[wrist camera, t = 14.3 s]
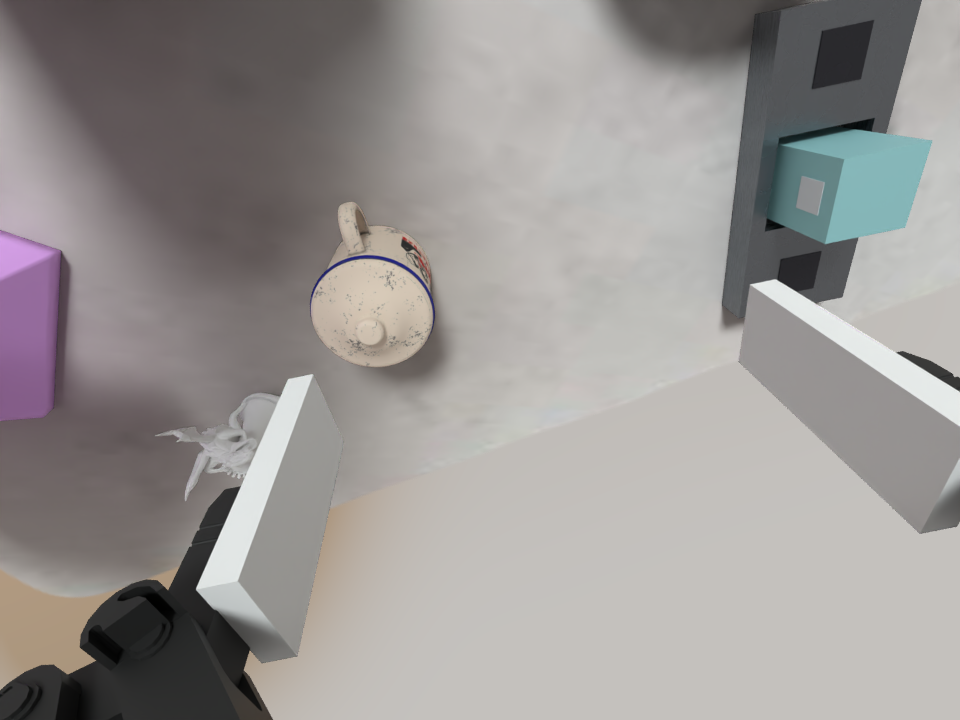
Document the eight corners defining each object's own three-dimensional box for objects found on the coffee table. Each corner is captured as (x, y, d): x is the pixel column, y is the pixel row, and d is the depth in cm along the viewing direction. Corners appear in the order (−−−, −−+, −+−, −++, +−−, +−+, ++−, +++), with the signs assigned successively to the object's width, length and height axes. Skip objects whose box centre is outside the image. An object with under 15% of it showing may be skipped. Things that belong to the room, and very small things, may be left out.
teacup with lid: (443, 306, 44) (448, 374, 35) (350, 326, 45) (329, 400, 35) (409, 175, 38) (403, 213, 28) (300, 200, 38) (257, 246, 28)
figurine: (313, 421, 50) (285, 510, 40) (253, 447, 52) (211, 541, 41) (246, 344, 45) (194, 425, 35) (181, 375, 46) (111, 463, 36)
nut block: (763, 141, 39) (843, 159, 32) (835, 126, 39) (933, 140, 32) (753, 212, 43) (824, 244, 35) (820, 198, 42) (905, 227, 35)
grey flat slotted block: (755, 14, 34) (782, 10, 32) (890, -15, 34) (928, -21, 32) (722, 304, 47) (739, 318, 45) (820, 284, 47) (842, 297, 45)
